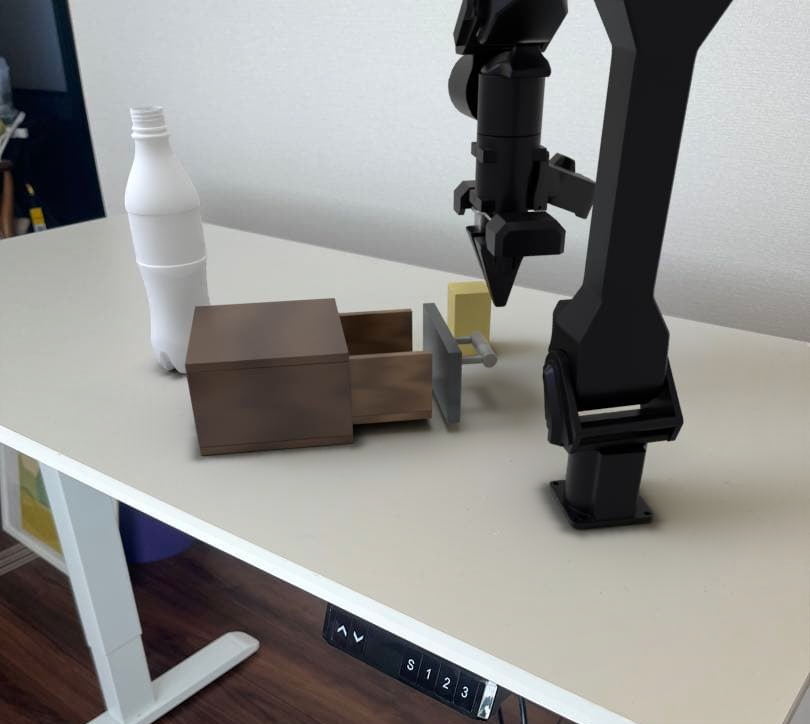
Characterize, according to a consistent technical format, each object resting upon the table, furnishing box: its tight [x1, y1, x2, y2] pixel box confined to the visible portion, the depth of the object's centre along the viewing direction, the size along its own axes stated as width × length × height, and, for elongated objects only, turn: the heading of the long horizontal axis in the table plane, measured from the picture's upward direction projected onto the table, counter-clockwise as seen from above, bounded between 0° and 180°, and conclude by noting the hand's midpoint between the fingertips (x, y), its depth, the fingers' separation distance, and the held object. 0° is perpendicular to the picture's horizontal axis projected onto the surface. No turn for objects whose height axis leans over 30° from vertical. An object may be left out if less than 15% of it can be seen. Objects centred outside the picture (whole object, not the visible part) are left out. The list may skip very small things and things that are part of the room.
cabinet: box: [185, 297, 354, 456], centre depth 77 cm, size 14×15×9 cm
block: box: [446, 280, 492, 357], centre depth 90 cm, size 4×4×7 cm
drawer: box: [338, 302, 498, 425], centre depth 78 cm, size 17×13×7 cm
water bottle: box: [124, 105, 212, 375], centre depth 82 cm, size 7×7×25 cm
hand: (499, 305), depth 81 cm, fingers closed
